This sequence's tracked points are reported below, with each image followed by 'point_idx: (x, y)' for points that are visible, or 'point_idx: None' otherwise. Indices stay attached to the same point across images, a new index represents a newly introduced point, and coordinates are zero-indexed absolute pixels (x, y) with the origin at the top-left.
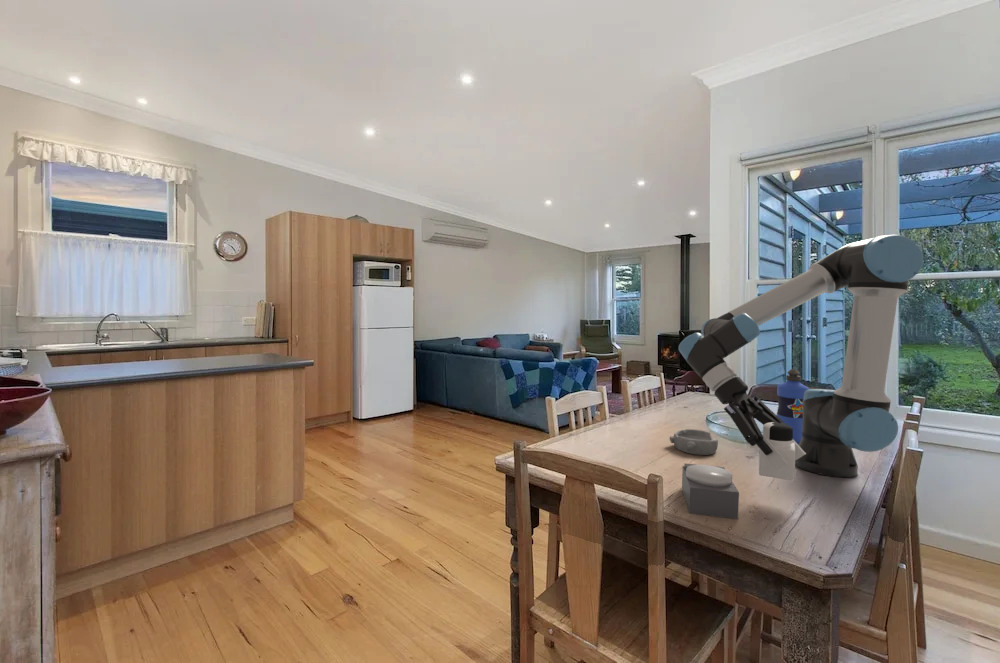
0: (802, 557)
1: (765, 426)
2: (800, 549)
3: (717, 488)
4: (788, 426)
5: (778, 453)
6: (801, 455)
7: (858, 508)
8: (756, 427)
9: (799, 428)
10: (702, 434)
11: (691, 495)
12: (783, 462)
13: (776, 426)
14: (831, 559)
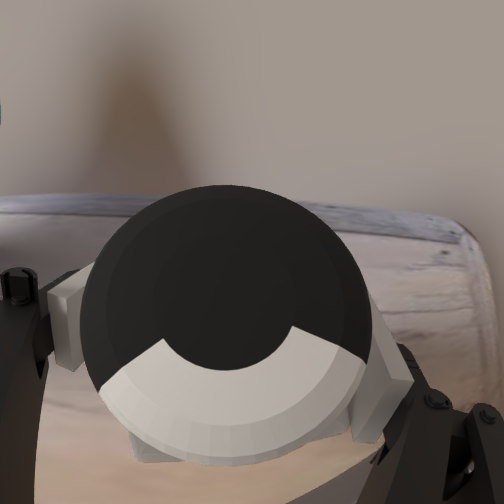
0: (466, 273)
1: (323, 422)
2: (447, 281)
3: (472, 465)
4: (239, 197)
5: (377, 313)
6: None
7: (133, 209)
8: (430, 467)
9: None
10: None
11: None
12: None
13: (340, 295)
14: (437, 238)
